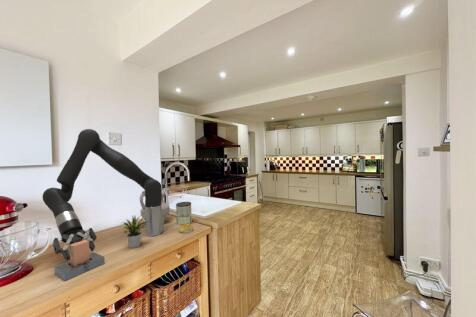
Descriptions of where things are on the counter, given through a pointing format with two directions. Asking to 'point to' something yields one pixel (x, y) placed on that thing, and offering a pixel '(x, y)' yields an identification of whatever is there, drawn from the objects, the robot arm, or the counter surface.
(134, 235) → the house plant
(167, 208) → the ceramic pitcher
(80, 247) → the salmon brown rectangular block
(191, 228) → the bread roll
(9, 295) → the counter surface
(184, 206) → the coffee can
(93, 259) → the grey socket block
